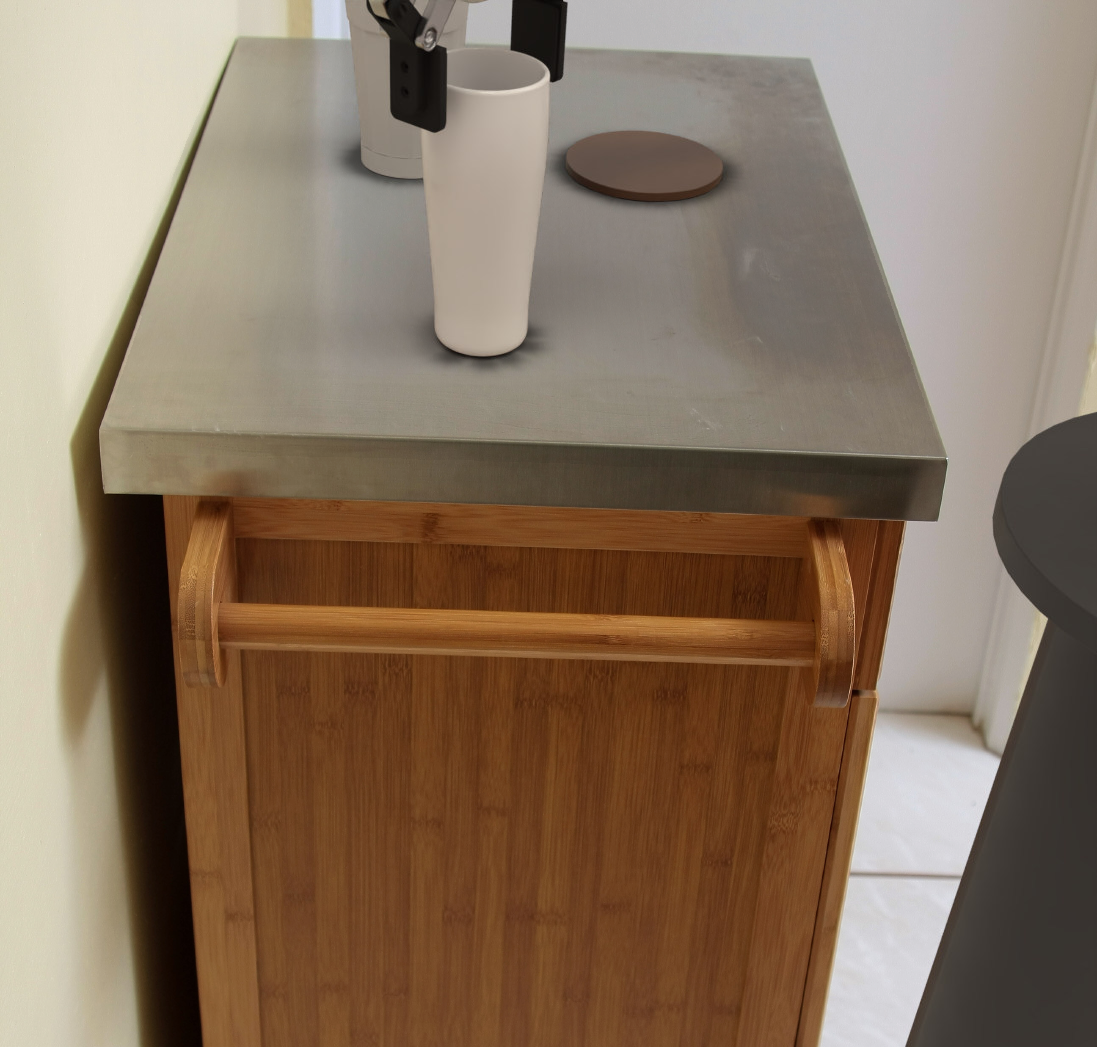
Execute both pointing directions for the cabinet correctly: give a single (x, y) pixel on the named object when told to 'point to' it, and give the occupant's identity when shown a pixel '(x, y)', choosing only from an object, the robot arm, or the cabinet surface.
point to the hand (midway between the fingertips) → (479, 98)
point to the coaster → (644, 165)
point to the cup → (383, 136)
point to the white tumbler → (486, 197)
